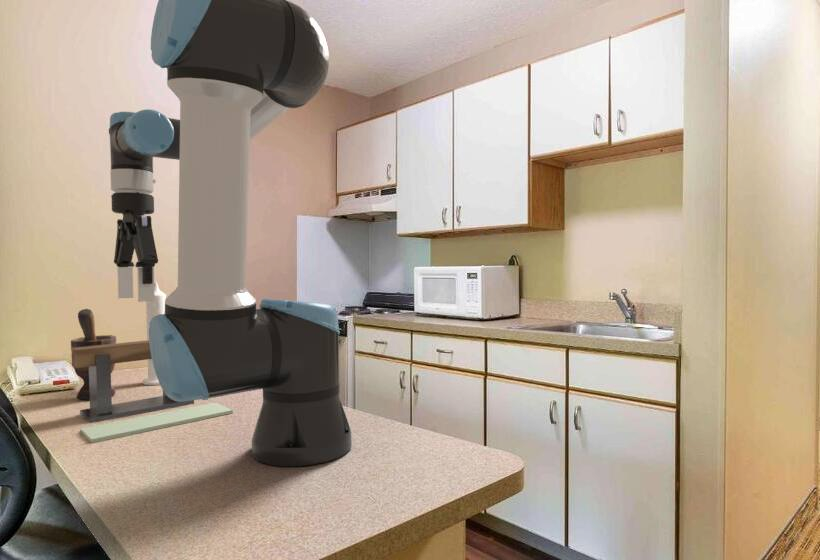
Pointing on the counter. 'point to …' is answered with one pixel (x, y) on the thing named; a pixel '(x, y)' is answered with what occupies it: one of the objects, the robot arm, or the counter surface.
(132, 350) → the rail
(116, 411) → the rack
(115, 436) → the mat
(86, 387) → the mortar and pestle
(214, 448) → the counter surface
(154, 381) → the candle
